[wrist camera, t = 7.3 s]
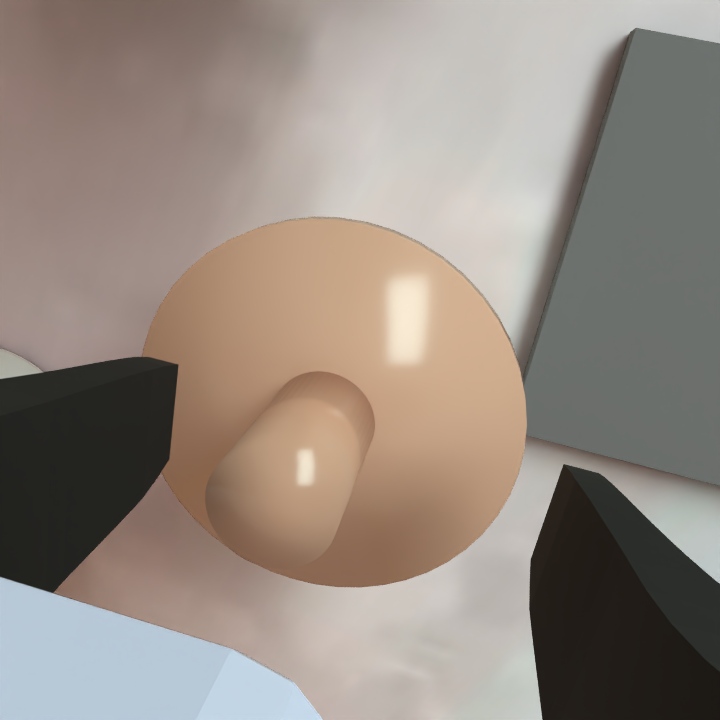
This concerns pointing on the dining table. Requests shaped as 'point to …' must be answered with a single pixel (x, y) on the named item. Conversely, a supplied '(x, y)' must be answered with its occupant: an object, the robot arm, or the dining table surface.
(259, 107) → the dining table surface
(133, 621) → the robot arm
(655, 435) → the mat
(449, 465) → the lid
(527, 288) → the dining table surface
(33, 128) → the dining table surface
